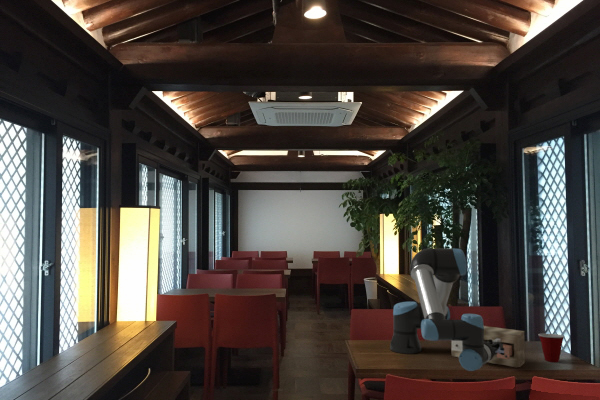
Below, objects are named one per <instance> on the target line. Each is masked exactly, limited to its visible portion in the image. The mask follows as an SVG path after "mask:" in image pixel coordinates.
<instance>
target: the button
mask: <svg viewBox="0 0 600 400" xmlns="http://www.w3.org/2000/svg"><path fill="white" fill-rule="evenodd" d="M452 350H454V351H460V352H462V341H452Z"/></svg>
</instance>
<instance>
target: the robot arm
mask: <svg viewBox="0 0 600 400" xmlns="http://www.w3.org/2000/svg"><path fill="white" fill-rule="evenodd" d="M467 268H468V267H467V260H466V255H465V253H464V250H462V249H461V248H454V247H453V248H446V247H445V248H444V247H443V248H439V247H438V248H430V247H429V248H424V249H422V250H419V251H418V252H417V253H416V254H415V255H414V256H413V257H412V258H411V261H410V265H409V273H410V277H411V279H412V280H413V281H414V283H415V286H416V291H417V295H418V298H419V303H420V304H418V303H417V301H402V302H398V303H396V304H394V305H393V312H392V315H393V317H392V320H393V334H392V337H391V340H390V343H389V349H390V351H392V352H394V353H399V354H409V355H410V354H419V353H420V352H421V351H422V345H421V341H420V338H419V337H418V336H419V335H418V330H421V336H422V339H424V340H425V341H433V342H437V341H447V342H448V341H450V342H451V341H462V352H461V354H460V356H459V357H458V362H459V363H460V366H461V367H462V368H463V369H465V370H466V371H468V372H473V371H474V372H475V371H477V370H480V369H481V368H482V367H483V366H484V365H485V364H487V363H489V362H488V361H490V360H491V359H492V358H493V357H494V355H496V354H497V353H499V354H501V355H504V348H503V343H501V339H495V340H494V341H492V340H491V339H489V342H487V341H484V326H485V325H484V319H483V316H482V315H480V314H476V313H463V314H462V315H461V319H451V311H450V309H449V307H448V306H447V305H448V304H447V303H448V300H449V297H450V294H451V291H452V288H453V284H454V283H455V282H457V280H459V278H460V276H466V274H467Z"/></svg>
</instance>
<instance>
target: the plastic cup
mask: <svg viewBox="0 0 600 400" xmlns="http://www.w3.org/2000/svg"><path fill="white" fill-rule="evenodd" d="M537 335H538V337H539V339H540V343H541V349H542V353H543V357H544V360H545V361H546V362H548V363H559V362H560V358H561V353H562V348H563V346H562V345H563V341H564V338H565V335H562V334H556V333H538V334H537Z"/></svg>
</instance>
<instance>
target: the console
mask: <svg viewBox="0 0 600 400" xmlns="http://www.w3.org/2000/svg"><path fill="white" fill-rule="evenodd" d="M489 339H491V340H492V341H494V340H495V339H501V343H503V344H508V345H512V350H513V354H512V355H511V356H510V359H503V358H497V354H496V355H494V357H493V358H492V359H491V360H490V361H488V362H487V363H488V364H496V365H500V366H507V367H512V368H517V367H520V368H521V367H522V366H523V365H524V364H525V363H526V358H525V357H526V353H525V352H526V351H525V349H526V348H525V347H526V346H525V330H520V329H519V330H518V329H517V330H516V329H509V328H501V327H496V326H495V327H494V326H488V325H484V341H488V342H489ZM450 343H451V344H450V345H451V348H450V349H451V354H450V355H451V357H453V358H454V357H456V358H459V356H460V354H461V352H460V351H454V350H452V341H450Z"/></svg>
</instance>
